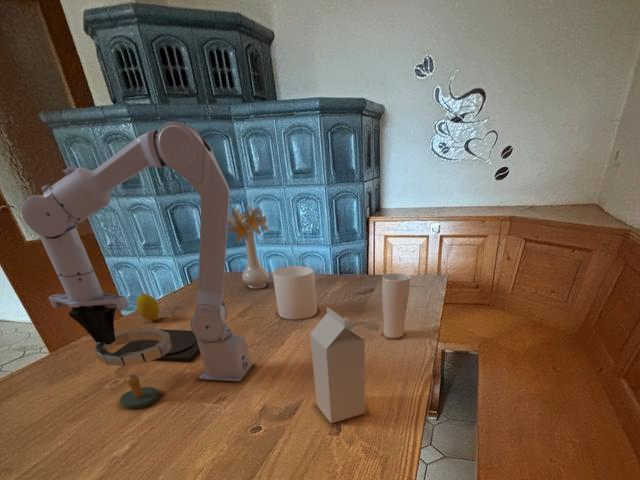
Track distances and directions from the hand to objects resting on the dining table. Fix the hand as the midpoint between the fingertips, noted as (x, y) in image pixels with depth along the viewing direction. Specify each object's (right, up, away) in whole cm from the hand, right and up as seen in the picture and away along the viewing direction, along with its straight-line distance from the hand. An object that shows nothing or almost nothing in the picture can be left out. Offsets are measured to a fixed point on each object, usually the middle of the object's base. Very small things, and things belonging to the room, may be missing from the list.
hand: (106, 342), depth 78 cm
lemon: (-9, +14, +35) cm, 39 cm away
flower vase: (+15, +34, +60) cm, 71 cm away
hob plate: (+2, +4, +21) cm, 21 cm away
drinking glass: (+61, +8, +25) cm, 66 cm away
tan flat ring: (+6, -2, 0) cm, 6 cm away
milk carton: (+48, -14, -4) cm, 50 cm away
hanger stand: (+7, -12, 0) cm, 14 cm away
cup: (+33, +18, +39) cm, 54 cm away
